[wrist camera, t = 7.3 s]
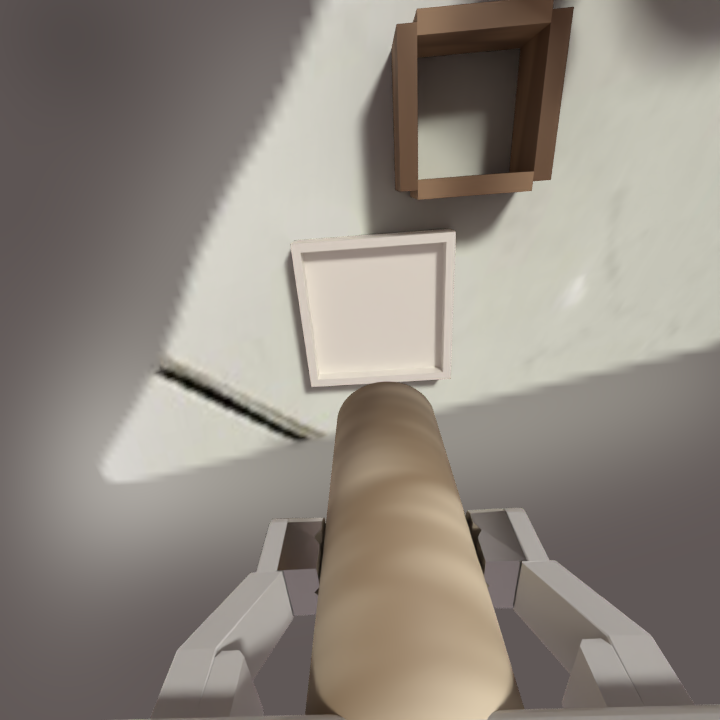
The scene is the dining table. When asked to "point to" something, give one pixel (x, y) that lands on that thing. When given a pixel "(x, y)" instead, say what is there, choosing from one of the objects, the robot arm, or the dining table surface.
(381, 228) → the dining table surface
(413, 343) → the tray
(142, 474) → the dining table surface
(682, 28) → the dining table surface
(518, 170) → the holder
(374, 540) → the dowel
